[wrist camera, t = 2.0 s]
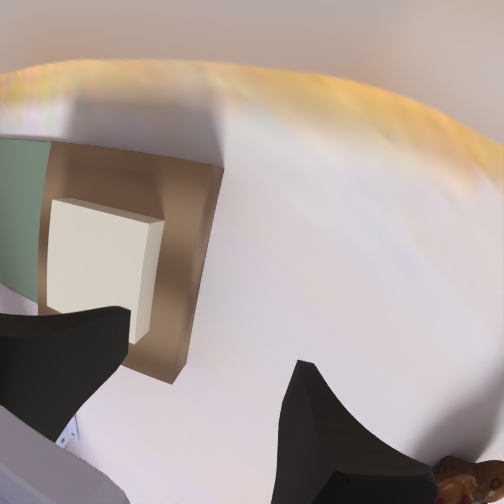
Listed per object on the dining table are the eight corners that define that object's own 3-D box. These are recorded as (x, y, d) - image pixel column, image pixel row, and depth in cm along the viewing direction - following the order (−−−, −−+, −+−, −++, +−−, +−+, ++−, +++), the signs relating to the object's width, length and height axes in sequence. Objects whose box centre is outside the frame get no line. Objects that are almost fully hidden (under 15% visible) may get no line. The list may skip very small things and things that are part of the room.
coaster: (148, 330, 19) (134, 344, 17) (64, 297, 19) (47, 305, 17) (164, 220, 17) (149, 223, 15) (72, 197, 18) (52, 199, 16)
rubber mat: (60, 312, 23) (58, 314, 23) (-13, 273, 24) (-15, 274, 24) (76, 145, 20) (74, 144, 20) (-3, 138, 21) (-5, 138, 21)
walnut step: (186, 363, 22) (172, 384, 19) (60, 312, 23) (38, 324, 20) (224, 169, 19) (211, 164, 16) (76, 145, 20) (51, 141, 17)
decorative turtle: (510, 431, 20) (538, 482, 12) (418, 510, 24) (428, 559, 16) (461, 419, 19) (493, 485, 12) (359, 506, 24) (364, 564, 16)
